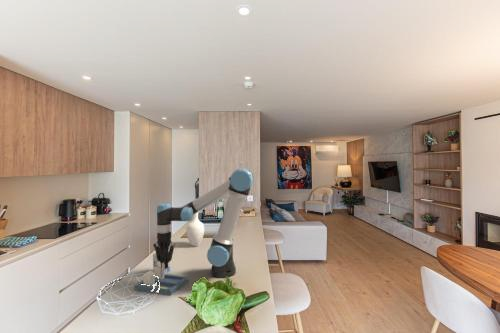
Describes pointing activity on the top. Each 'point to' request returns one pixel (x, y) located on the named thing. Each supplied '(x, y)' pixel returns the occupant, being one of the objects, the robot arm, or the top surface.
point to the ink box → (158, 263)
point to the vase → (195, 231)
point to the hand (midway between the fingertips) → (164, 274)
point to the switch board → (164, 284)
